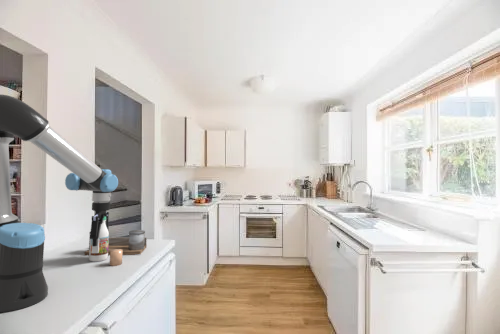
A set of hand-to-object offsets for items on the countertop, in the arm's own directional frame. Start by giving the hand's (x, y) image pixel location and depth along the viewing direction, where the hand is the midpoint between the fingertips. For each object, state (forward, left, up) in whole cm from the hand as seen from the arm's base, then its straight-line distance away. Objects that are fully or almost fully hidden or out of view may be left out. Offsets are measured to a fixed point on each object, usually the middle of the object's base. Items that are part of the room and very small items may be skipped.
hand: (99, 250), depth 123 cm
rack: (+13, -4, -4) cm, 14 cm away
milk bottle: (0, 0, -4) cm, 4 cm away
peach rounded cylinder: (-7, -10, -4) cm, 13 cm away
